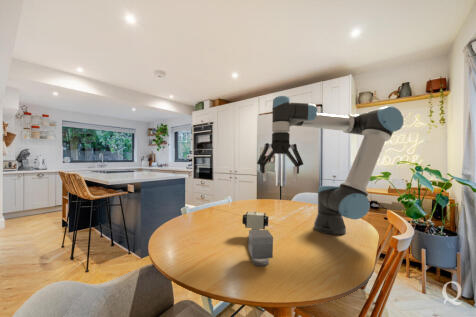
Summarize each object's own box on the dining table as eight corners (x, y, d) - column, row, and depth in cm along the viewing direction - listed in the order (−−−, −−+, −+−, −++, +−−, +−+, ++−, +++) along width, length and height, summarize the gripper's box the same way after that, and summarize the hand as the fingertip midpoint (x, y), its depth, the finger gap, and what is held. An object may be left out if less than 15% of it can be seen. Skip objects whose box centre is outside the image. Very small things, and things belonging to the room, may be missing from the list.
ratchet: (258, 241, 87) (258, 225, 88) (270, 266, 68) (271, 245, 68) (244, 242, 87) (244, 226, 87) (253, 266, 67) (253, 245, 67)
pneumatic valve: (267, 240, 90) (268, 213, 90) (241, 237, 92) (242, 211, 92) (268, 235, 95) (268, 210, 95) (244, 233, 97) (244, 208, 97)
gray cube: (267, 248, 74) (267, 229, 74) (272, 257, 67) (273, 237, 67) (248, 249, 73) (248, 230, 73) (252, 258, 66) (252, 237, 66)
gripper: (304, 134, 93) (303, 180, 93) (251, 132, 90) (250, 180, 90) (311, 132, 86) (311, 182, 85) (254, 130, 83) (253, 181, 83)
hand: (279, 181), depth 88 cm, fingers open, 13 cm apart
